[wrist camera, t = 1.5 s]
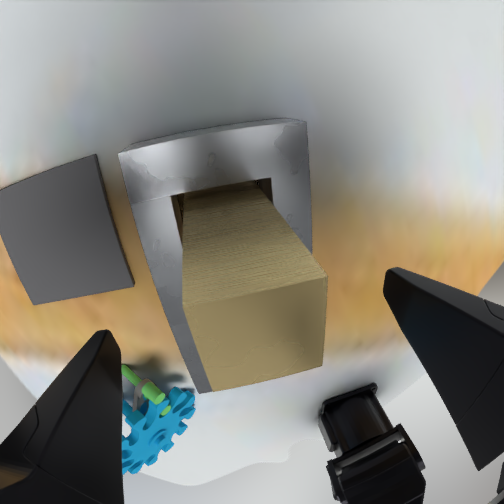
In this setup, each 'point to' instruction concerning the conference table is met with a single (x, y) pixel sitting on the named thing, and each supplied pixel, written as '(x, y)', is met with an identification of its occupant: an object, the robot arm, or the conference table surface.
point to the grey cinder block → (206, 176)
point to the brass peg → (249, 288)
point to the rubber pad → (63, 234)
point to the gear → (152, 421)
